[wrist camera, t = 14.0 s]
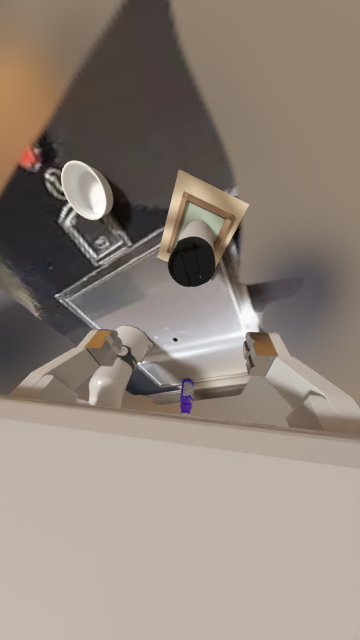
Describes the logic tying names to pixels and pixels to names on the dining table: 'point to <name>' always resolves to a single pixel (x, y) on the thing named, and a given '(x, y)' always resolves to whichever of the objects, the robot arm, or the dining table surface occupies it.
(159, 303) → the dining table surface
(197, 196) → the board
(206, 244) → the travel mug
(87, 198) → the ramekin
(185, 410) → the bottle
